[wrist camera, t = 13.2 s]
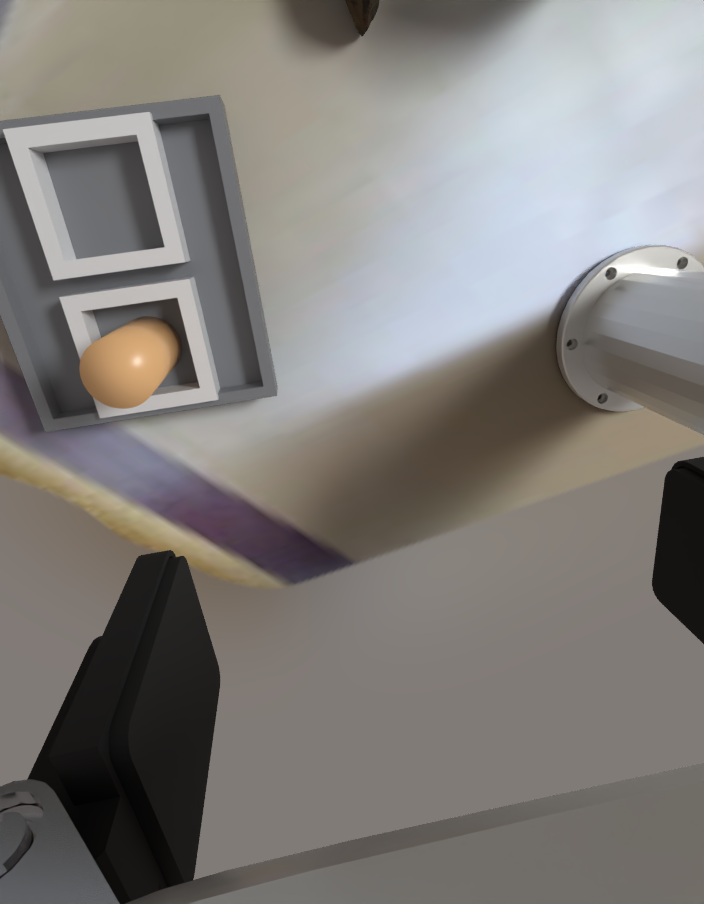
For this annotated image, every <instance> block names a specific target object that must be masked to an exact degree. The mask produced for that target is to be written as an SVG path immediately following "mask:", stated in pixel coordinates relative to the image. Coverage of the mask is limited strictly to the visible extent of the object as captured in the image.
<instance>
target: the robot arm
mask: <svg viewBox="0 0 704 904" xmlns="http://www.w3.org/2000/svg"><path fill="white" fill-rule="evenodd" d="M606 271H607V273H606ZM605 273H606V275H605ZM568 341H569V343H568V344H567V342H568ZM556 350H557V359H558V364H559V367H560V370H561V373H562V376H563V378H564V379H565V381H566V383H567V384H568V386H569V387H570V389H571V390H572V391H573V392H574V393H575V394H576V395H577V396H578V397H580V398H582V399H583V400H585V401H586V402H588V403H590V404H591V405H593V406H595V407H598V408H600V409H605V410H609V411H619V412H627V411H633V410H639V409H642V408H648V409H650V410H652V411H654V412H656V413H658V414H660V415H662V416H665V417H667V418H669V419H671V420H673V421H675V422H677V423H679V424H681V425H684V426H686V427H688V428H690V429H692V430H694V431H696V432H698V433H701V434H703V435H704V266H703V264H702V263H701V262H700V261H699V260H697V259H696V258H695V257H694V256H693V255H691V254H690V253H688V252H685V251H683V250H681V249H679V248H675V247H670V246H665V245H645V246H638V247H632V248H630V249H627V250H624V251H621V252H618V253H616V254H615V255H613V256H611V257H609V258H608V259H606V260H604V261H603V262H601V263H600V264H599V265H598V266H597V267H595V268H594V269H593V270H592V271H591V272H589V273H588V275H587V276H586V277H585V278H584V279H583V280H582V281H581V283H580V284H579V285H578V286H577V288H576V289H575V291H574V292H573V294H572V295H571V297H570V299H569V300H568V302H567V305H566V307H565V309H564V311H563V314H562V316H561V320H560V324H559V328H558V332H557V344H556ZM652 586H653V591H654V593H655V595H656V597H657V599H658V600H659V601H660V602H661V603H662V604H663V605H664V606H665V607H666V608H667V609H668V610H669V611H670V612H671V613H672V614H673V615H674V616H675V617H676V618H677V619H679V621H680V622H682V623H683V624H684V625H685V626H686V627H687V628H688V629H689V630H690V631H691V632H692V633H693V634H694V635H695V636H696V637H697V638H698V639H699V640H700V641H701V642H702V643H703V644H704V457H700V458H694V459H689V460H684V461H678V462H677V463H675V464H674V466H673V467H672V470H670V471H669V472H668V473H667V474H666V477H665V482H664V490H663V498H662V506H661V514H660V522H659V530H658V538H657V547H656V554H655V563H654V570H653V578H652ZM219 689H220V672H219V666H218V662H217V659H216V656H215V653H214V649H213V646H212V642H211V639H210V636H209V633H208V630H207V626H206V622H205V619H204V616H203V613H202V609H201V606H200V603H199V600H198V596H197V593H196V589H195V586H194V583H193V579H192V576H191V573H190V570H189V566H188V563H187V560H186V558H185V557H184V556H180V557H176V556H175V554H174V552H173V551H171V550H169V551H163V552H157V553H151V554H146V555H141V556H139V557H138V558H137V560H136V562H135V564H134V566H133V568H132V571H131V573H130V575H129V577H128V580H127V582H126V584H125V586H124V589H123V591H122V593H121V595H120V598H119V600H118V602H117V604H116V606H115V609H114V611H113V613H112V615H111V618H110V620H109V622H108V624H107V627H106V629H105V631H104V633H103V636H100V637H98V638H96V639H95V640H93V642H92V644H91V645H90V647H89V649H88V651H87V653H86V655H85V657H84V659H83V661H82V664H81V666H80V668H79V670H78V672H77V675H76V676H75V679H74V681H73V683H72V685H71V687H70V689H69V692H68V694H67V696H66V698H65V700H64V702H63V704H62V707H61V709H60V711H59V713H58V715H57V717H56V719H55V721H54V724H53V726H52V728H51V730H50V732H49V734H48V736H47V739H46V741H45V743H44V745H43V747H42V750H41V752H40V754H39V756H38V758H37V760H36V762H35V764H34V767H33V768H32V771H31V773H30V775H29V777H28V779H27V780H21V781H13V782H11V783H8V784H5V785H3V786H0V904H704V763H701V764H696V765H691V766H687V767H682V768H678V769H673V770H668V771H663V772H659V773H654V774H650V775H645V776H640V777H636V778H631V779H626V780H622V781H618V782H613V783H608V784H604V785H599V786H594V787H590V788H585V789H580V790H577V791H571V792H567V793H562V794H557V795H553V796H549V797H544V798H539V799H534V800H530V801H526V802H521V803H517V804H512V805H508V806H503V807H499V808H495V809H490V810H485V811H481V812H476V813H472V814H467V815H463V816H458V817H454V818H449V819H445V820H440V821H436V822H431V823H427V824H422V825H418V826H413V827H409V828H404V829H400V830H395V831H391V832H387V833H382V834H377V835H373V836H369V837H364V838H360V839H355V840H351V841H347V842H342V843H338V844H334V845H330V846H326V847H322V848H317V849H313V850H310V851H305V852H301V853H297V854H293V855H289V856H285V857H280V858H276V859H272V860H268V861H264V862H260V863H256V864H252V865H248V866H244V867H239V868H235V869H231V870H227V871H223V872H220V873H217V874H213V875H210V876H206V877H203V878H199V879H196V880H193V878H194V873H195V865H196V858H197V851H198V844H199V836H200V829H201V822H202V814H203V807H204V799H205V792H206V785H207V778H208V770H209V763H210V755H211V748H212V741H213V733H214V726H215V719H216V711H217V704H218V696H219Z"/></svg>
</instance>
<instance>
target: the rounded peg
mask: <svg viewBox="0 0 704 904" xmlns="http://www.w3.org/2000/svg"><path fill="white" fill-rule="evenodd" d="M181 353H182V344H181V340H180V337H179V335H178V333H177V332H176V330H175V329H174V328H173V327H172V326H171V325H170V324H169V323H168V322H166V321H165V320H163V319H160V318H158V317H154V316H142V317H138V318H136V319H134V320H132V321H130V322H129V323H127V324H125V325H123V326H122V327H120V328H118V329H116V330H115V331H113V332H111V333H109V334H108V335H106V336H104V337H102V338H101V339H99V340H97V341H95V342H94V343H92V344H91V345H90V346H89V347H88V348H87V349H86V350H85V351H84V353H83V355H82V357H81V360H80V367H79V370H80V376H81V380H82V382H83V385H84V386H85V388H86V389H87V391H88V392H89V393H90V394H91V395H92V396H93V397H94V398H95V399H96V400H98V401H99V402H101V403H103V404H104V405H107V406H109V407H113V408H119V409H127V408H133V407H136V406H138V405H140V404H142V403H144V402H145V401H146V400H147V399H148V398H149V397H150V396H151V395H152V394H153V392H154V391H155V390H156V389H157V387H158V386H159V385H160V384H161V383H162V381H163V380H164V379H165V378H166V376H167V375H168V374H169V373H170V371H171V370H172V369H173V368H174V367H175V365H176V364H177V363H178V361H179V359H180V357H181Z"/></svg>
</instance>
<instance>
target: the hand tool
mask: <svg viewBox="0 0 704 904" xmlns="http://www.w3.org/2000/svg"><path fill="white" fill-rule="evenodd" d="M346 2H347V5H348V8H349V10H350V13H351V15H352V17H353V20H354V23H355V26H356V28H357V30H358V32H359V34H360V35H361V36H363V35H364V34H365V32H366V31H367V29H368V27H369V25H370V23H371V21H372V20H373V18H374V16H375V14H376V12H377V9H378V5H379V0H346Z"/></svg>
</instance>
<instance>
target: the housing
mask: <svg viewBox="0 0 704 904" xmlns="http://www.w3.org/2000/svg"><path fill="white" fill-rule="evenodd" d="M0 316H1V318H2V321H3V324H4V326H5V329H6V331H7V334H8V337H9V339H10V342H11V344H12V347H13V350H14V352H15V355H16V357H17V360H18V363H19V365H20V368H21V370H22V373H23V376H24V378H25V381H26V383H27V386H28V389H29V391H30V394H31V396H32V399H33V402H34V404H35V407H36V409H37V412H38V415H39V417H40V420H41V422H42V425H43V428H44V430H45V432H50V431H56V430H63V429H69V428H75V427H82V426H88V425H94V424H101V423H107V422H113V421H120V420H126V419H133V418H139V417H145V416H152V415H158V414H164V413H171V412H177V411H183V410H190V409H196V408H202V407H209V406H215V405H221V404H228V403H234V402H240V401H247V400H253V399H259V398H266V397H272V396H277V382H276V377H275V372H274V366H273V361H272V356H271V350H270V345H269V340H268V335H267V329H266V324H265V319H264V313H263V308H262V303H261V297H260V292H259V287H258V282H257V276H256V271H255V266H254V260H253V255H252V250H251V244H250V239H249V234H248V229H247V223H246V218H245V213H244V207H243V202H242V197H241V192H240V186H239V181H238V176H237V170H236V165H235V160H234V154H233V149H232V144H231V139H230V133H229V128H228V123H227V117H226V112H225V107H224V104H223V101H222V99H221V97H220V95H216V96H207V97H199V98H191V99H182V100H174V101H165V102H157V103H148V104H140V105H131V106H123V107H114V108H106V109H97V110H89V111H80V112H72V113H63V114H55V115H47V116H38V117H30V118H21V119H13V120H4V121H0ZM142 316H154V317H158V318H160V319H163V320H165V321H166V322H168V323H169V324H170V325H171V326H172V327H173V328H174V329H175V330H176V332H177V333H178V335H179V337H180V340H181V344H182V353H181V357H180V359H179V361H178V363H177V364H176V365H175V367H174V368H173V369H172V370H171V371H170V373H169V374H168V375H167V376H166V378H165V379H164V380H163V381H162V383H161V384H160V385H159V386H158V387H157V389H156V390H155V391H154V392H153V394H152V395H151V396H150V397H149V398H148V399H147V400H146V401H145V402H144V403H142V404H140V405H138V406H136V407H133V408H127V409H119V408H113V407H109V406H107V405H104V404H103V403H101V402H99V401H98V400H96V399H95V398H94V397H93V396H92V395H91V394H90V393H89V392H88V391H87V389H86V388H85V386H84V385H83V382H82V380H81V376H80V370H79V367H80V360H81V357H82V355H83V353H84V351H85V350H86V349H87V348H88V347H89V346H90V345H91V344H92V343H94V342H95V341H97V340H99V339H101V338H102V337H104V336H106V335H108V334H109V333H111V332H113V331H115V330H116V329H118V328H120V327H122V326H123V325H125V324H127V323H129V322H130V321H132V320H134V319H136V318H138V317H142Z"/></svg>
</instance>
